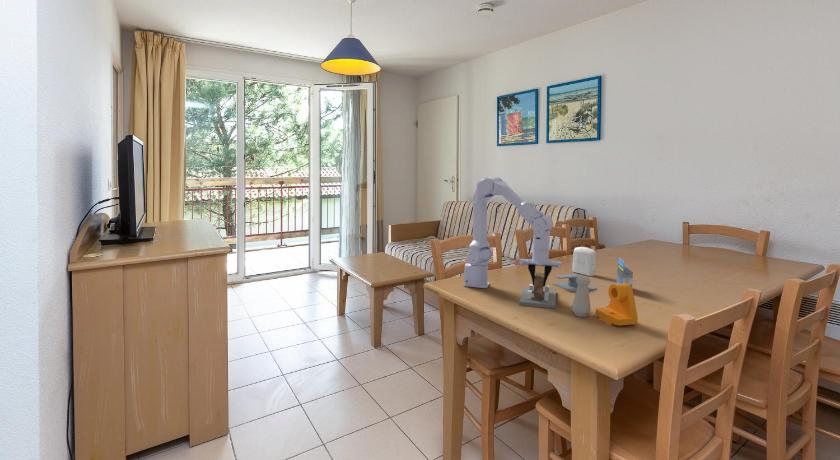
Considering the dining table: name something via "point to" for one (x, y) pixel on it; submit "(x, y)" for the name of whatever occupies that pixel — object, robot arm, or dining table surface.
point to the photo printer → (584, 261)
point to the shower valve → (570, 283)
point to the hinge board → (546, 301)
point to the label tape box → (624, 274)
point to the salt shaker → (582, 297)
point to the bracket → (619, 306)
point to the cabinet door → (538, 286)
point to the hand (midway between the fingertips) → (538, 285)
